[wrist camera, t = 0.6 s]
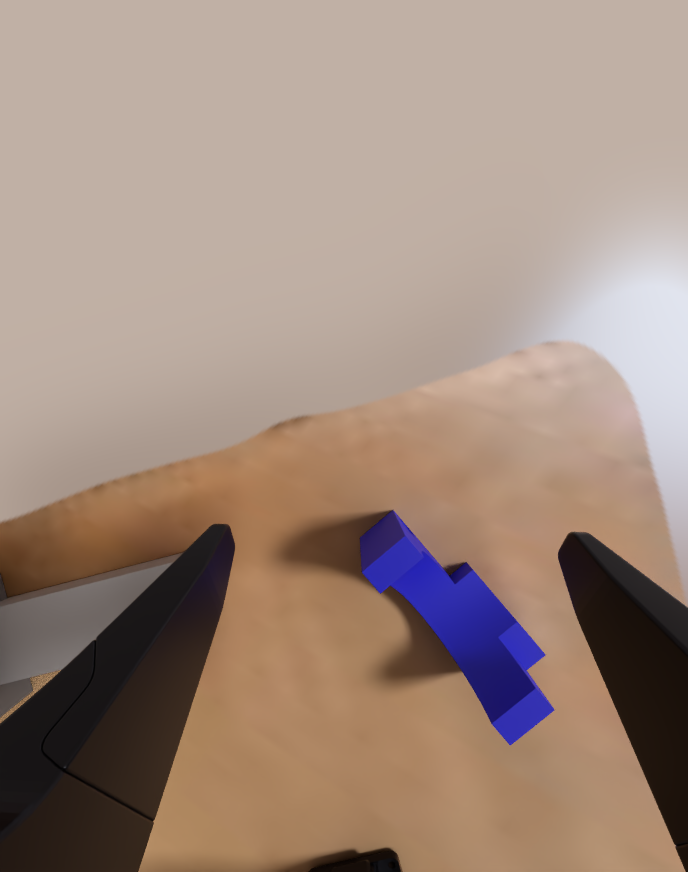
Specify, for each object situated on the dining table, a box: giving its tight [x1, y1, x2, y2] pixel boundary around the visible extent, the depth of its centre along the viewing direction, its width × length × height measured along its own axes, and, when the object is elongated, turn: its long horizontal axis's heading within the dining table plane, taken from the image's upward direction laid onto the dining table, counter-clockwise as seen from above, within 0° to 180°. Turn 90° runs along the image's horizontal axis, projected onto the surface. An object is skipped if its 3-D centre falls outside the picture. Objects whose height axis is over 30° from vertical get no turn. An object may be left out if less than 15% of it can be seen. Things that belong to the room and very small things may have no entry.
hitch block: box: [0, 553, 182, 717], centre depth 23 cm, size 9×23×4 cm, turn 105°
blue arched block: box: [360, 510, 554, 745], centre depth 21 cm, size 12×4×6 cm, turn 41°
